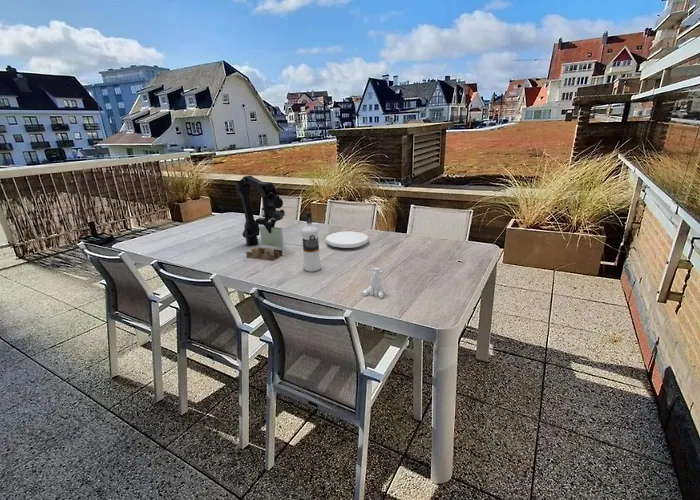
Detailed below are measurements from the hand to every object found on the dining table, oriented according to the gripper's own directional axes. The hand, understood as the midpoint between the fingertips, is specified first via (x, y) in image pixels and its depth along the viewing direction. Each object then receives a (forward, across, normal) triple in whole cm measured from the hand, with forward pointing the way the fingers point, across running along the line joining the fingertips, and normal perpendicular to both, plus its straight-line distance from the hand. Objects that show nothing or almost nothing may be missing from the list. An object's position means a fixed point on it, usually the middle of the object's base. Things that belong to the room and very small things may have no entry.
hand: (271, 232), depth 198 cm
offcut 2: (+12, -8, -4) cm, 15 cm away
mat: (+13, +12, -3) cm, 18 cm away
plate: (+13, +31, -33) cm, 48 cm away
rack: (+13, -7, +1) cm, 15 cm away
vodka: (+13, -12, -32) cm, 37 cm away
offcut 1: (+12, -9, +5) cm, 16 cm away
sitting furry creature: (+13, -27, -72) cm, 78 cm away
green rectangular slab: (+8, 0, 0) cm, 8 cm away
